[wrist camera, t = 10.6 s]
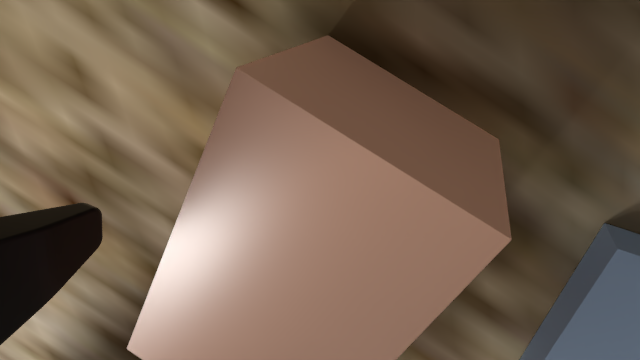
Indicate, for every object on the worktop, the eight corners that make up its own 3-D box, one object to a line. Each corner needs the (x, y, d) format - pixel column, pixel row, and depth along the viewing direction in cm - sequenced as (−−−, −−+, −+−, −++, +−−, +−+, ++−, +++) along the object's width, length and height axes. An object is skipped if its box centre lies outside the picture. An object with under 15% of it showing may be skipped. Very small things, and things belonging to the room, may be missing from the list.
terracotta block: (348, 324, 15) (294, 464, 11) (226, 244, 15) (126, 348, 11) (498, 137, 11) (511, 239, 7) (329, 34, 11) (235, 67, 7)
